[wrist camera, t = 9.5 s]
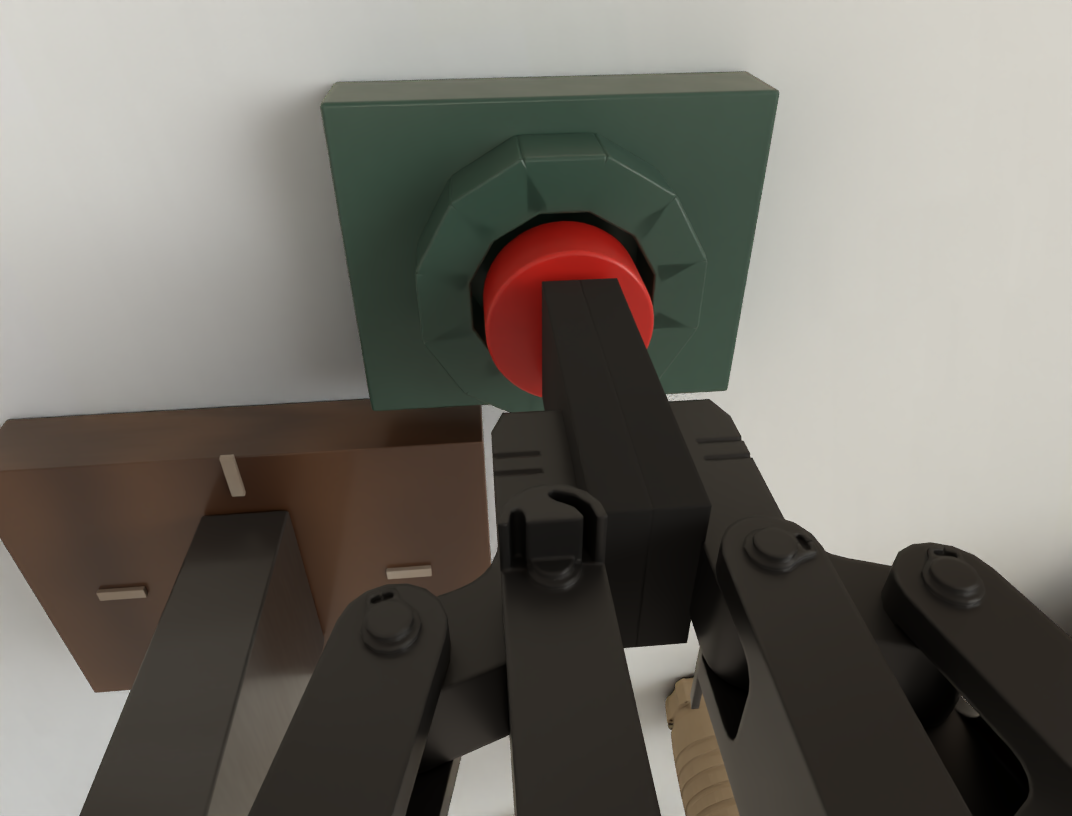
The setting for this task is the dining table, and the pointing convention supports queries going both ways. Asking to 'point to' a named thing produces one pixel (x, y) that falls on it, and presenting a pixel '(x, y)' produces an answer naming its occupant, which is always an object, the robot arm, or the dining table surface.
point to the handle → (697, 756)
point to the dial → (215, 676)
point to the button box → (542, 212)
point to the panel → (235, 508)
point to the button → (519, 291)
